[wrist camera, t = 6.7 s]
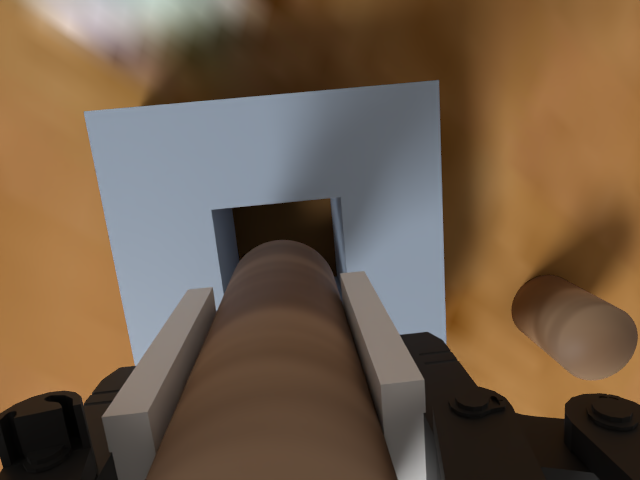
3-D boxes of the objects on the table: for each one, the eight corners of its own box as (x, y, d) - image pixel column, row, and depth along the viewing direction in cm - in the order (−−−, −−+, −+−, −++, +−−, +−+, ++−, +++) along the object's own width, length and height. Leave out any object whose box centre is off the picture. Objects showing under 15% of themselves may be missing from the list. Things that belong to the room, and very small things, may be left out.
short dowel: (511, 278, 27) (560, 310, 22) (577, 271, 27) (640, 301, 22) (511, 340, 28) (558, 384, 23) (574, 333, 28) (634, 375, 23)
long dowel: (223, 245, 17) (-73, 718, 3) (331, 234, 17) (502, 636, 3) (237, 345, 18) (56, 1054, 4) (339, 334, 18) (501, 974, 4)
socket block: (134, 117, 23) (83, 111, 18) (402, 93, 24) (438, 80, 18) (178, 363, 27) (147, 427, 21) (414, 337, 27) (447, 392, 21)
